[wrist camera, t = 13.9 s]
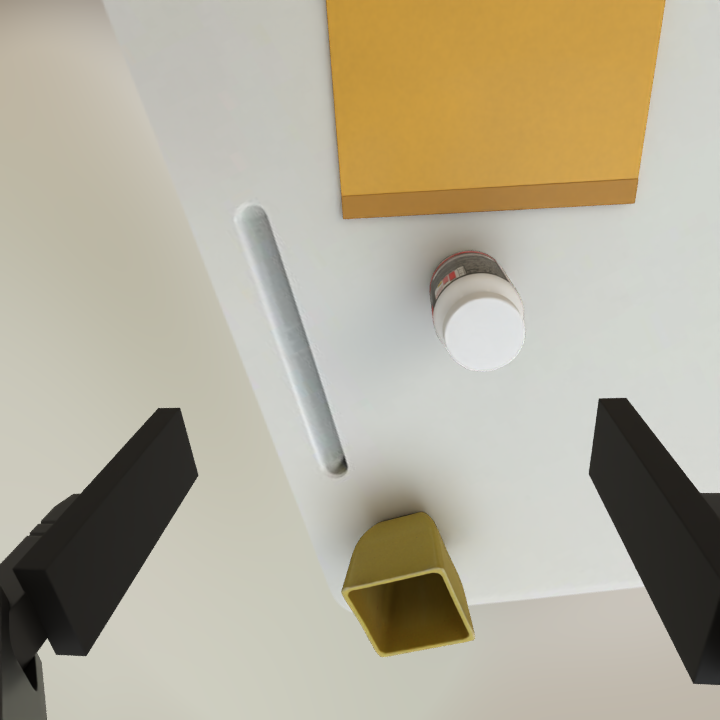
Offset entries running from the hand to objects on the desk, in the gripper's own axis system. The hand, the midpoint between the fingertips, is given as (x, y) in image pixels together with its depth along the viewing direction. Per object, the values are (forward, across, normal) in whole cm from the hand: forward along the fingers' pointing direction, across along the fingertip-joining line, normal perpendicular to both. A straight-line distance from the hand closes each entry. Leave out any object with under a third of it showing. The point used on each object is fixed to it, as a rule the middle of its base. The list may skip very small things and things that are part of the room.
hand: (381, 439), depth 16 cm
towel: (+24, +6, +11) cm, 27 cm away
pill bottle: (+24, +5, -2) cm, 25 cm away
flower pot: (+24, 0, -27) cm, 36 cm away
